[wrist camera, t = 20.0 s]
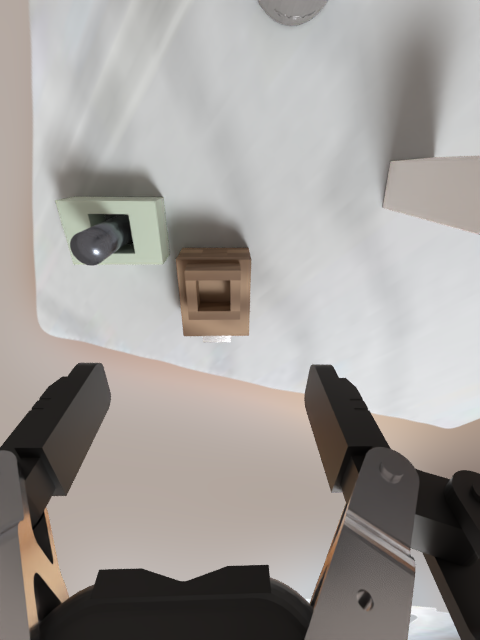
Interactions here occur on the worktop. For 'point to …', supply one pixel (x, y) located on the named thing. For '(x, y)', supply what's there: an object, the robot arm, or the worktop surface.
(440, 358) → the worktop surface
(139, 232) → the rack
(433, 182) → the milk
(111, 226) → the grey peg
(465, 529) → the robot arm
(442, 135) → the worktop surface
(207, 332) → the socket block
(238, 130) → the worktop surface
